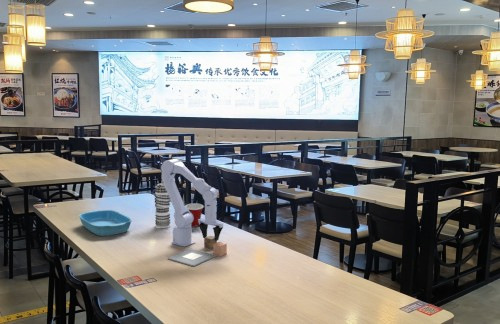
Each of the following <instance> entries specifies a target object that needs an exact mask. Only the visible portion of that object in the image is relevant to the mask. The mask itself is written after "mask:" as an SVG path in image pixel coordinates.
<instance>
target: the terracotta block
mask: <svg viewBox="0 0 500 324" xmlns="http://www.w3.org/2000/svg"><path fill="white" fill-rule="evenodd" d="M227 247H228V244H227V243H226V242H223V241H217V243H215V244H213V248H212V250H213V253H212V254H214V255H216V256H219V257H222V256H223V255H227Z"/></svg>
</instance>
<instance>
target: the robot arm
mask: <svg viewBox="0 0 500 324" xmlns="http://www.w3.org/2000/svg"><path fill="white" fill-rule="evenodd" d="M160 170H161V181H162V183H164V186H165V188H166V190H167V193H168V195H169V198H170V199H169V201H170V203H171V205H172V207H173V210H174V214H173V217H174V224H175V226H174V227H173V229H172V242H171V244H173V245H177V246H181V247H188V246H190V245H193V244H196V242H195V241H193V240H192V238H193V237H192V235H193V234H192V226H191V223H192V222H193V219H194V217H193V215H192V214H191V213H190V211H189V209H188V208H186V207H185V206H186V205H185V203H184V201H183V199H182V196H181V194H180V192H179V189H178V186H177V184H176V182H175V179H174V178H175V176H176V174H180V175H181V176H182V177H184V178H185V179H186V180H188V181H189V182H190V183H191V184H192V187H193V188H194V189H195V190H196V191H197V192H198V193H199V194H200V195H202V198H203V199H202V200H204V218H200V219H198V223H200V224H199V225H198V226H197V227H198V228H199V229H200V232H201V236H202V238H203V239H204V238H205V237H207V236H208V227H209V226H212V230H213V233H214V235H213V236H214V237H215V241H217V242H218V241H219V239H220V235H221V233H222V231H223V228H224V222H221V221H218V220H217V198H218V195H219V192H218V190H217V189H216V187H212V186H211V185H209V184H208V183H207V182H206V181H205V179H204V178H201V177H199V178H198V177H197V176H195V174H194V173H193V172H191V170H190V169H188V167H186V166H185V164H184V162H183V161H181V159H179V158H175V157H174V158H173V159H172V158H171V159H168V160H164V161H162V164H161V165H160Z"/></svg>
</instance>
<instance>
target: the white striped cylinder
mask: <svg viewBox="0 0 500 324" xmlns="http://www.w3.org/2000/svg"><path fill="white" fill-rule="evenodd" d="M154 188H155V194H154V203H155V204H154V206H155V207H154V208H155V215H154V216H155V220H154V222H155V227H156V228H158V229H166V228H170V227H171V214H170V207H171V200H170V198H169V195H168V193H167V190H166V188H165V186H164V183H163V182H162V183H158V184H156V186H154Z"/></svg>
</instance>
